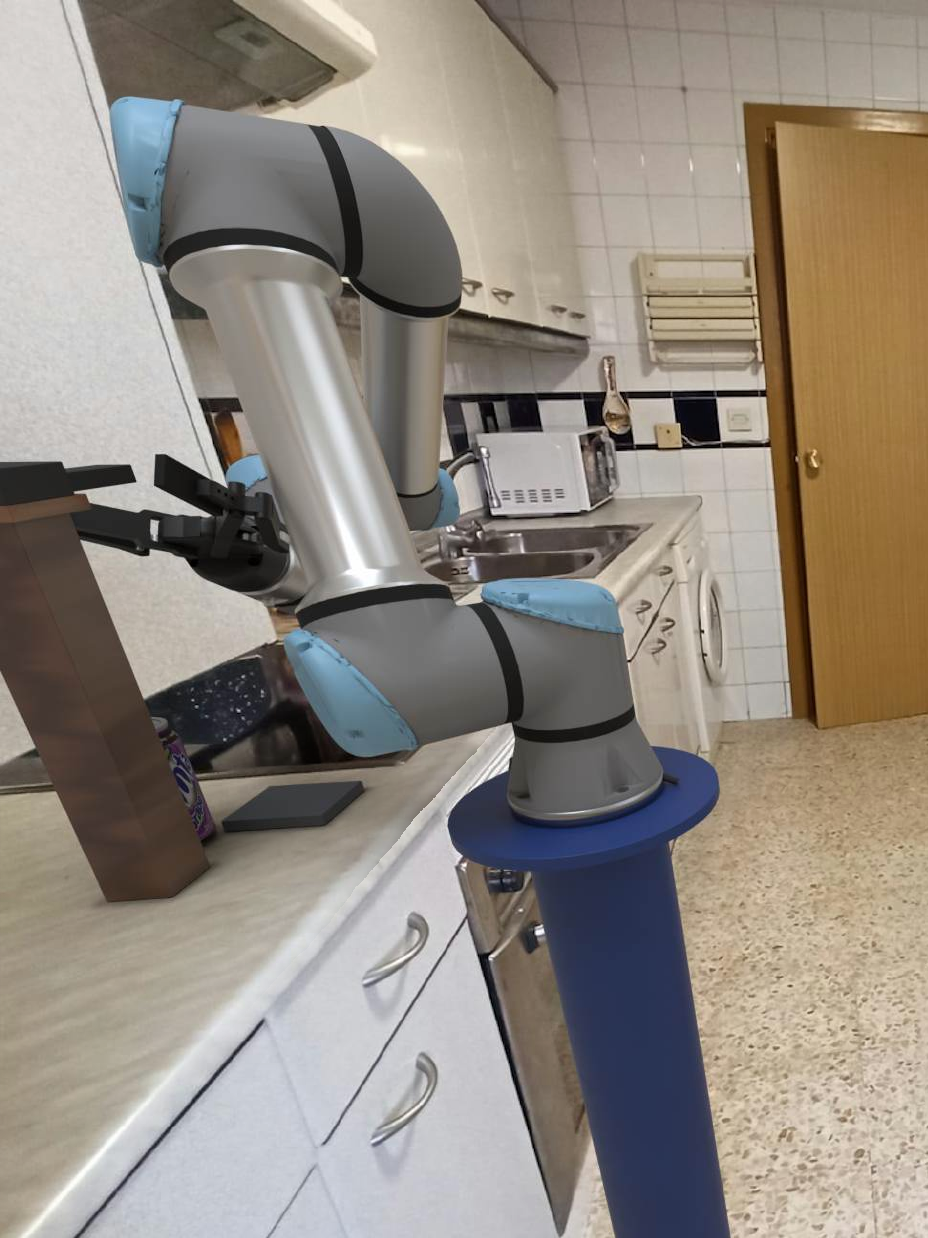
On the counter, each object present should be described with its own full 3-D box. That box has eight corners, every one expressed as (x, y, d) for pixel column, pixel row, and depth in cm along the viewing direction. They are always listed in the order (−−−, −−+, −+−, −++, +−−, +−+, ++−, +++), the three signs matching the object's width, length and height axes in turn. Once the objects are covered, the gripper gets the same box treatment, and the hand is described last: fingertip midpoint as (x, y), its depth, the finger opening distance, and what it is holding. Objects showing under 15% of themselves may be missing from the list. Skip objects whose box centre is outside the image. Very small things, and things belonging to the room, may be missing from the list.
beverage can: (135, 872, 77) (82, 751, 72) (107, 850, 80) (54, 734, 76) (230, 838, 83) (186, 724, 78) (200, 820, 86) (157, 709, 81)
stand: (227, 858, 79) (86, 493, 67) (174, 900, 73) (7, 505, 60) (155, 863, 78) (-3, 494, 66) (95, 906, 72) (-93, 507, 59)
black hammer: (159, 482, 74) (149, 451, 73) (7, 505, 60) (-9, 468, 59) (81, 482, 73) (69, 452, 72) (-93, 507, 59) (-110, 469, 58)
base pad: (364, 790, 92) (361, 780, 92) (324, 825, 85) (321, 814, 85) (273, 795, 91) (269, 785, 91) (224, 832, 84) (220, 821, 83)
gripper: (380, 590, 90) (235, 512, 70) (115, 598, 87) (-122, 518, 66) (381, 522, 91) (238, 425, 70) (118, 527, 88) (-114, 427, 67)
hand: (63, 470), depth 68 cm, fingers open, 13 cm apart
